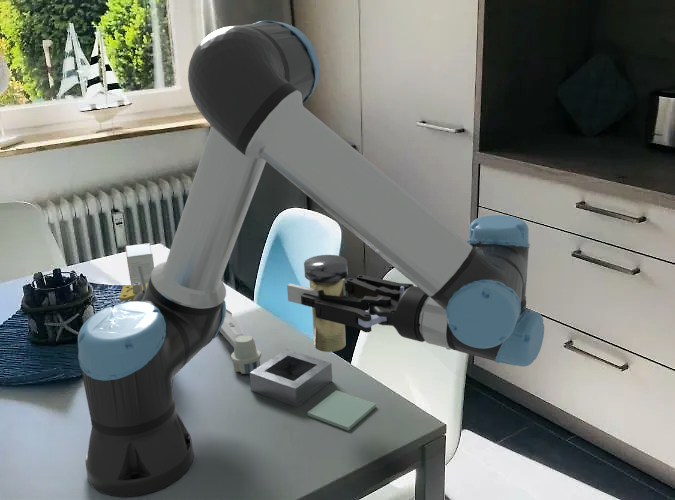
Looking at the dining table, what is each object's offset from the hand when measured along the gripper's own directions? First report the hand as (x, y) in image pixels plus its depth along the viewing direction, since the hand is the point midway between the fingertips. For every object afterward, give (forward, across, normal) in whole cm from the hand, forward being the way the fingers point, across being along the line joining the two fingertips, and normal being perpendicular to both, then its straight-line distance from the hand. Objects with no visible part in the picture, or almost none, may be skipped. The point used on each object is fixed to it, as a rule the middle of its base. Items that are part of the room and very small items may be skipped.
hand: (300, 286), depth 114 cm
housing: (+5, +2, -20) cm, 21 cm away
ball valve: (+47, +6, -20) cm, 51 cm away
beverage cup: (+30, -6, -20) cm, 36 cm away
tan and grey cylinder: (-5, 0, -9) cm, 10 cm away
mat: (-7, -1, -20) cm, 22 cm away
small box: (+60, +17, -20) cm, 66 cm away
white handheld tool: (+24, +7, -21) cm, 32 cm away
